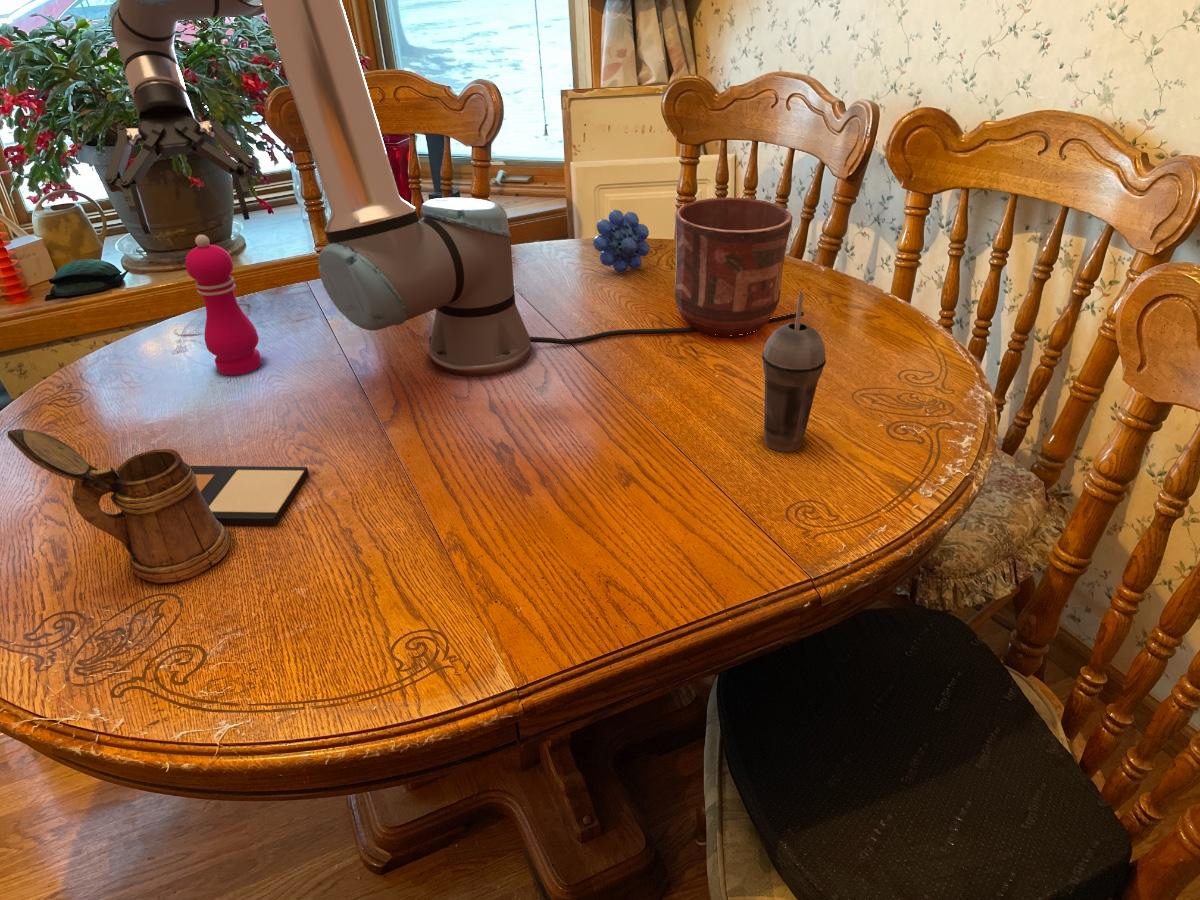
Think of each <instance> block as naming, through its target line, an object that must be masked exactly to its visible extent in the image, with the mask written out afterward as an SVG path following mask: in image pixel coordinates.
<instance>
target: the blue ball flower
mask: <svg viewBox="0 0 1200 900" xmlns="http://www.w3.org/2000/svg"><path fill="white" fill-rule="evenodd" d="M596 230H597V232H598V234H597V235H596V236H595V237H594V238H593V240H592V245H593V247H594V249H595V250H596V251H597V252H600V254H599V261H600V262H601V264H602V266H605V267H611V266H612V267H613V269H614V271H616V272H617V273H621V274H624V273H625V272H627V270H628V269H629V268H631V269H632V270H633V269H635V270H637V269H639V268H640V266H642V262H643V260H642V258H641V257H646V256H648V255H649V253H650V251H651V247H650V244H649V243H648V242H647V241H646V240H647V239H648V237H649V235H650V232H649V229H648V226H647V225H645V224H644V223H640V219H639V217H638V214H636V213H635V212H634V211H627V212H626V213H625V214H624V213H623V212H622V211H621V210H620V209H613V210H611V211H610V212H609V214H608V219H607V218H606V219H605V218H601V219H599V220H598V221H597V224H596Z"/></svg>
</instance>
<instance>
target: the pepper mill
mask: <svg viewBox="0 0 1200 900" xmlns="http://www.w3.org/2000/svg"><path fill="white" fill-rule="evenodd" d="M194 242H195V244H196V246H195V247H194V248H192V249H191V250H189V251H188V253H187V254H186V256H185V260H184V264H185V265H184V267H185V269H186V272H187V274H188V275H189V277H191V278H192V279H193V280H195V281H196V282H195V283H194V285H195V287H196V291H197V293H198V294H199V295H201V296H202V299H203V302H204V304H205V310H206V311H205V312H206V313H205V314H206V315H205V316H206V317H205V325H204V326H205V327H204V343H205V347H206V349H207V351H208V352H209V353H210V354H212V355H213V356H215V358H214V363H215V366H216V369H217V371H218V373H219V374H221V375H224V376H239V375H245V374H248V373H251V372H253V371H255V370H257V369H259V367H261V365H262V363H263V361H262V358H261V354H260V351H259V350H258V349H257V348H256V347H257V346H258V343H259V340H260V337H259V334H258V332H257V329H256V326H254V324H253V322H252V321H251V320H250V319H249V317H248V316H247V314H245V312H244V311H243V310H242V309H241V306H240V305H239V303H238V300H237V298H236V295H235V291H234V290H235V288H236V286H237V285H236V284H235V282H234V280H235V278H234V277H233V276H231V275H232V272H233V271H234V270H233V269H234V263H233V259H232V257H231V254H229V252H228V251H227V250H226V249H225V248H223V247H221V246H219V245H216V244H210V238H209V237H208V236H206V235H205V234H198V235H197V236H196V237H195V240H194Z"/></svg>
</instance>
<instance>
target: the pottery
mask: <svg viewBox="0 0 1200 900" xmlns="http://www.w3.org/2000/svg"><path fill="white" fill-rule="evenodd" d="M674 213H675V216H674V223H675V224H674V228H675V255H676V256H675V259H676V260H675V275H674V276H675V278H674V299H675V304H676V308H677V310H678V312H679V314H680V316H681V318H682V319H683V320H684V322H686V323H687V324H688V325H689V326H690V327H693V328H695V329H696V330H697V331H698V332H697V333H699V334H701V335H703V336H706V337H709V338H714V339H720V340H722V339H724V340H735V339H743V338H747V337H749V336H753V335H754V334H756V333H758V332H759V331H760V330H761V329H762V328H764V327H765V326H766V325H768V324H767V323H768V321H769V320H770V318H772V317H773V316H774V314H775V311H776V310H777V308H778V305H779V303H780V299H781V293H782V292H781V290H782V283H783V281H782V280H783V269H784V263H785V262H784V261H785V257H786V250H787V245H788V241H789V237H790V233H791V229H792V224H793V214H792V213H791V212H790V211H789V210H787V209H786V208H784V207H783V206H782V205H780V204H776V203H774V202H773V203H772V202H770V201H767V200H761V199H755V198H749V197H747V198H746V197H727V196H725V197H712V198H711V197H710V198H704V199H699V200H693V201H691V202H689V203H686V204H683V205H682V206H680V207H678V209H677V210H676V211H675V212H674ZM756 330H757V331H756ZM753 331H755V332H753ZM750 332H751V333H750ZM747 333H748V334H747ZM715 334H716V335H715ZM739 334H743V335H739ZM730 335H732V336H730Z"/></svg>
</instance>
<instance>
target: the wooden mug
mask: <svg viewBox="0 0 1200 900" xmlns="http://www.w3.org/2000/svg"><path fill="white" fill-rule="evenodd" d="M6 435H7V436H6V437H7V439H8V440H9V441H10V442H11V444H13V445H14V446H15V447H16V448H17V449H18V451H20V452H21V453H22V454H23V456H25V458H27V459H28V460H29V461H31V462H32V463H33V464H35V465H36V466H39V467H40V468H42V469H44V470H46V471H48V472H50V473H52V474H54V475H56V476H58V477H60V478H63V479H65V480H69V481H74V484H73V487H72V497H71V499H72V502H73V503H74V508H75V510H76V512H77V513H78V514H79V515H80V516H81V517H82V519H83V520H84V521H86V522H88V523H89V524H91V525H92V526H94V527H95V528H97V529H99V530H101V531H103V533H106V534H108V535H110V536H112V537H114V538H115V539H116V540H118V541H119V542H121V543H122V544H123V546H124V547H125V549H126V550H127V552H128V553H129V555H128V556H129V557H128V558H129V564H130V569H131V571H132V573H134V574H135V575H136V576H137V577H139V578H141V579H143V580H145V581H147V582H150V583H154V584H159V585H161V584H167V583H168V584H169V583H177V582H181V581H185V580H188V579H190V578H191V579H192V578H194V577H197V576H199V575H200V574H202V573H204V572H206V571H207V570H209V569H210V568H212V567H213V566H214V565H216V564H217V563H219V562H220V560H221V559H222V558H223V557H225V556H226V554H227V553H228V551H229V549H230V546H231V545H230V544H231V539H230V537H229V534H228V532H227V531H226V529H225V527H224V525H222V524H221V523H220V522H219V521H218V520H216V518H215V516H214V515H213V513H212V511H211V510H210V508H209V506H208V504H207V503H206V501H205V499H204V497H203V496H202V494H201V492H200V490H199V489H198V487H197V485H196V484H197V478H196V476H195V474H194V473H193V471H192V469H191V468H190V467H189V466H190V465H189V464H188V463H186V462H185V460H183V458H182V456H181V454H180V452H178V451H176V450H174V449H171V448H159V449H157V448H156V449H151V450H147V451H144V452H141V453H138V454H136V455H133V456H131V457H130V458H127V459H126V460H125V461H124V462H123V463H122V464H121V465H119V467H117V469H115V468H114V467H106V468H101V469H99V468H97V467H96V466H93V465H91V464H89V462H88V461H87V460H86V459H85V458H84V457H83V456H82V455H81V454H80V453H79V452H78V451H77V450H75V449H74V448H73V447H71V446H70V445H68V444H66V443H65V442H63V441H61V440H60V439H57V437H56V438H55V437H54V436H51V435H49V434H47V433H44V432H43V431H38V430H33V429H27V428H17V429H11V430H7V434H6ZM109 493H112V494H111V496H110V500H111V502H112V504H113V505H114V506H115V507H116V508H118V509H120V512H118V513H107V512H106V511H103V510H102V509H101V506H100V500H101V498H102V497H103V496H105V495H107V494H109Z"/></svg>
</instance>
